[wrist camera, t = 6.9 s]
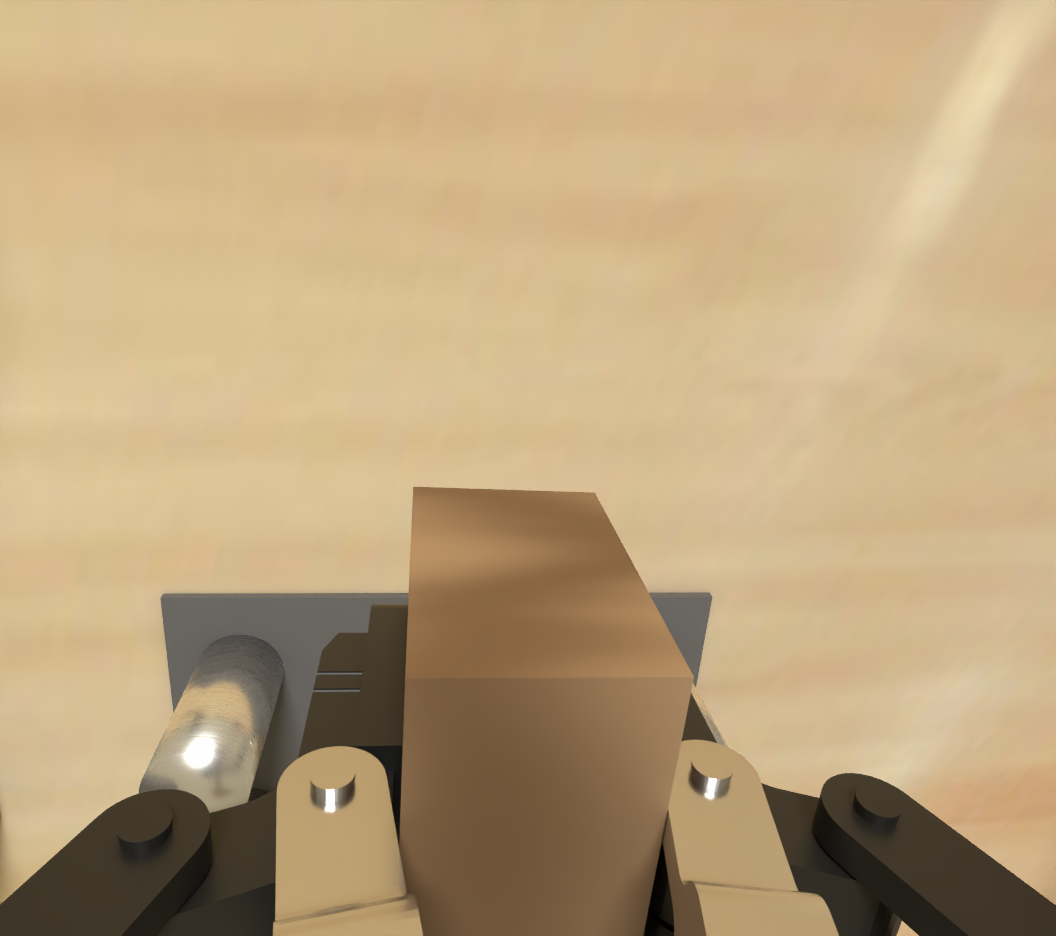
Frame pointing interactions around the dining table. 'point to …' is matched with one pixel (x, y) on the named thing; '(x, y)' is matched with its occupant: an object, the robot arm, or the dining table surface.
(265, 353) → the dining table surface
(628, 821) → the wooden mallet
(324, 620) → the spacer mat
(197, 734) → the steel spacers
